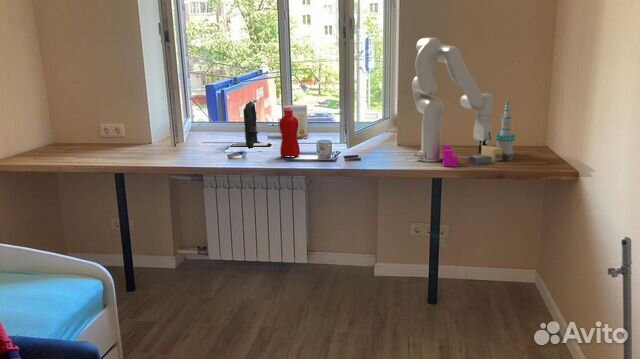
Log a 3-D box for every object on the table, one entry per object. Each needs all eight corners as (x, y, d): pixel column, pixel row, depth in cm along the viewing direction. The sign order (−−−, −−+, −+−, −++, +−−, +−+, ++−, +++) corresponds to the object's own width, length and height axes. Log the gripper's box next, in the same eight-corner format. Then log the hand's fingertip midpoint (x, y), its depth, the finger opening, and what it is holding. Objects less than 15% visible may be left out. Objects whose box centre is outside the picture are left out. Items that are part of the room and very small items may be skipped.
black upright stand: (234, 142, 334) (231, 96, 327) (275, 141, 333) (272, 95, 326) (223, 153, 304) (219, 102, 296) (267, 152, 302) (265, 101, 295)
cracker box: (308, 137, 343) (307, 104, 338) (306, 139, 337) (305, 105, 332) (286, 137, 345) (285, 104, 340) (284, 139, 339) (283, 106, 334)
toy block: (457, 166, 256) (458, 151, 254) (443, 165, 257) (444, 150, 255) (454, 160, 271) (456, 145, 269) (442, 159, 272) (443, 145, 270)
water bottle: (286, 153, 296) (284, 108, 290) (302, 155, 290) (300, 109, 284) (275, 156, 289) (273, 110, 283) (291, 158, 283) (289, 111, 277)
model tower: (515, 156, 274) (519, 97, 266) (495, 156, 276) (498, 97, 268) (512, 152, 284) (516, 95, 276) (493, 152, 286) (496, 95, 278)
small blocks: (475, 164, 260) (475, 158, 259) (468, 162, 265) (469, 155, 264) (511, 161, 265) (511, 154, 264) (503, 158, 271) (504, 152, 270)
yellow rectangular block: (495, 162, 264) (496, 150, 263) (480, 157, 275) (481, 145, 274) (504, 161, 266) (504, 149, 264) (489, 156, 277) (489, 144, 275)
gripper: (469, 116, 279) (467, 151, 284) (486, 120, 265) (484, 156, 270) (481, 115, 281) (479, 150, 286) (499, 119, 268) (497, 155, 272)
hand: (482, 153), depth 278 cm, fingers closed
